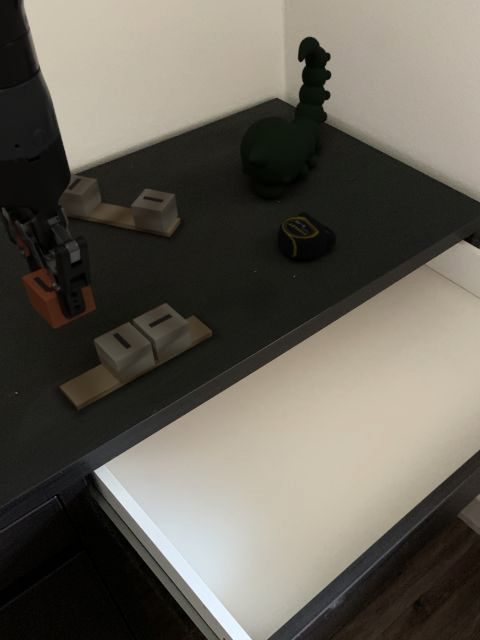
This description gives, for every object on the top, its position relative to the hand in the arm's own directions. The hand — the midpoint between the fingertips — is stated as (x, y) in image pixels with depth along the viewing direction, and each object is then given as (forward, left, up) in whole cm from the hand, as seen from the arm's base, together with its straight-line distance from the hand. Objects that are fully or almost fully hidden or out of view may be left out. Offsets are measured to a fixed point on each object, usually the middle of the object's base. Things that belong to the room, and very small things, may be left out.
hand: (61, 299), depth 64 cm
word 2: (+4, +5, -13) cm, 14 cm away
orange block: (0, 0, -1) cm, 1 cm away
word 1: (-12, +31, -13) cm, 35 cm away
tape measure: (+15, +33, -13) cm, 38 cm away
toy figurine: (+7, +50, -13) cm, 52 cm away
